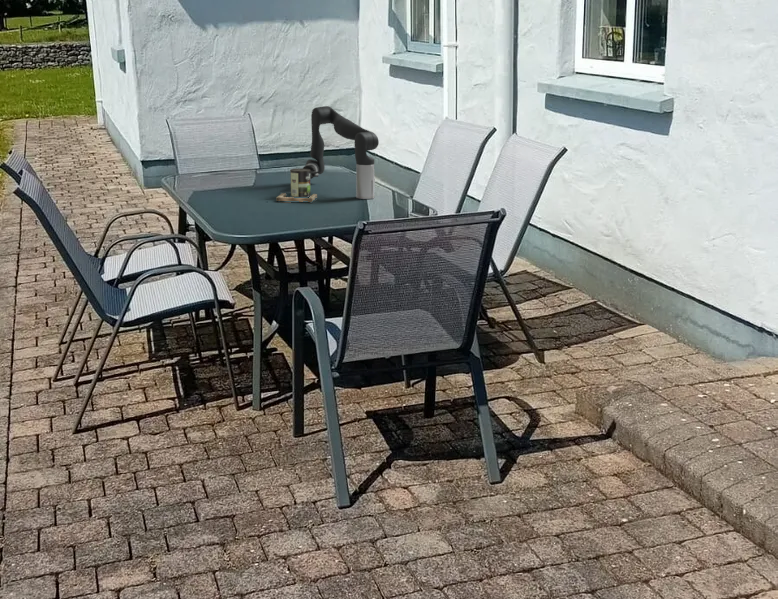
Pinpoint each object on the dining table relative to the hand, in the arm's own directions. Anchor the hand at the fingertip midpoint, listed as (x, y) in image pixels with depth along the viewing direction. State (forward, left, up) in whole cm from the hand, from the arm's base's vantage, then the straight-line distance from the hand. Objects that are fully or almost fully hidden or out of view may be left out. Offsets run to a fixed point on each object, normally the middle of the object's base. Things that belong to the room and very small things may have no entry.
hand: (303, 176), depth 511 cm
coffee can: (0, +10, -9) cm, 14 cm away
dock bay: (0, +19, -9) cm, 21 cm away
